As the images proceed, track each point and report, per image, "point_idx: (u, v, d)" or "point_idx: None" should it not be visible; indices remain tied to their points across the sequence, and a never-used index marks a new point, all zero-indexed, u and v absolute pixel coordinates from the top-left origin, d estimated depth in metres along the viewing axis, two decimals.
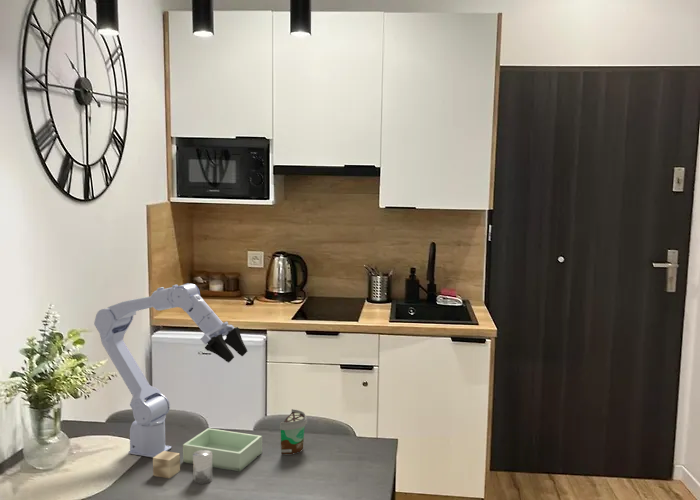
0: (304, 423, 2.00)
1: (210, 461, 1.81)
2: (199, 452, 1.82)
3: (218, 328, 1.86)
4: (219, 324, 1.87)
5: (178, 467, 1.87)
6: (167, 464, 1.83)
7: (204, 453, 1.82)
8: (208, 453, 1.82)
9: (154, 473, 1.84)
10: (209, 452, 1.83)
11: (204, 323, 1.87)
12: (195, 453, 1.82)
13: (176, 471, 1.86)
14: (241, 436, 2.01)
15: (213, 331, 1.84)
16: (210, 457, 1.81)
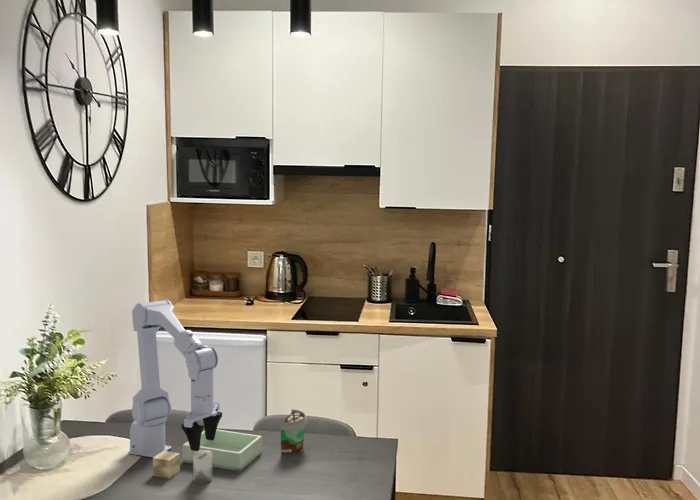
0: (304, 423, 2.00)
1: (210, 461, 1.81)
2: (199, 452, 1.82)
3: (205, 416, 1.77)
4: (209, 411, 1.79)
5: (178, 467, 1.87)
6: (167, 464, 1.83)
7: (204, 453, 1.82)
8: (208, 453, 1.82)
9: (154, 473, 1.84)
10: (209, 452, 1.83)
11: (197, 402, 1.77)
12: (195, 453, 1.82)
13: (176, 471, 1.86)
14: (241, 436, 2.01)
15: (199, 418, 1.76)
16: (210, 457, 1.81)
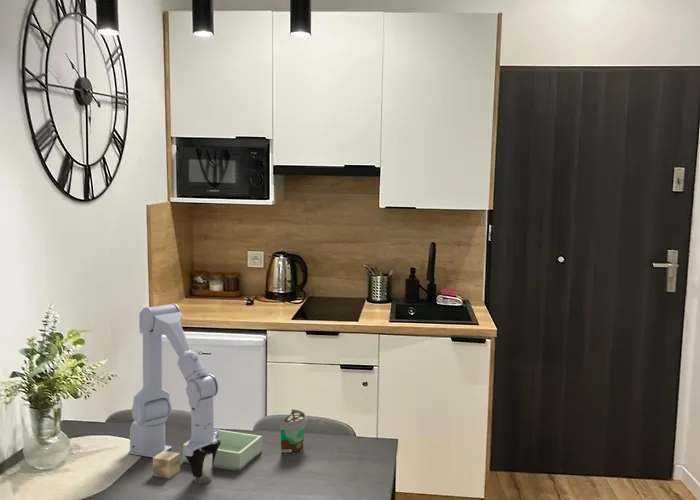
0: (304, 423, 2.00)
1: (210, 461, 1.81)
2: None
3: (205, 444, 1.78)
4: (209, 439, 1.79)
5: (178, 467, 1.87)
6: (167, 464, 1.83)
7: None
8: (208, 453, 1.82)
9: (154, 473, 1.84)
10: (209, 452, 1.83)
11: (198, 430, 1.78)
12: None
13: (176, 471, 1.86)
14: (241, 436, 2.01)
15: (199, 446, 1.77)
16: (210, 457, 1.81)
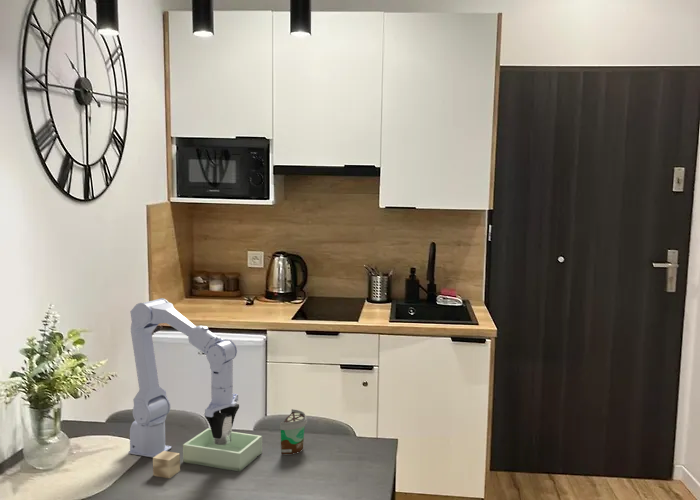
0: (304, 423, 2.00)
1: (229, 423, 1.87)
2: None
3: (225, 406, 1.85)
4: (228, 402, 1.86)
5: (178, 467, 1.87)
6: (167, 464, 1.83)
7: None
8: (227, 416, 1.89)
9: (154, 473, 1.84)
10: (228, 415, 1.89)
11: (218, 392, 1.85)
12: None
13: (176, 471, 1.86)
14: (241, 436, 2.01)
15: (219, 408, 1.83)
16: (229, 419, 1.87)
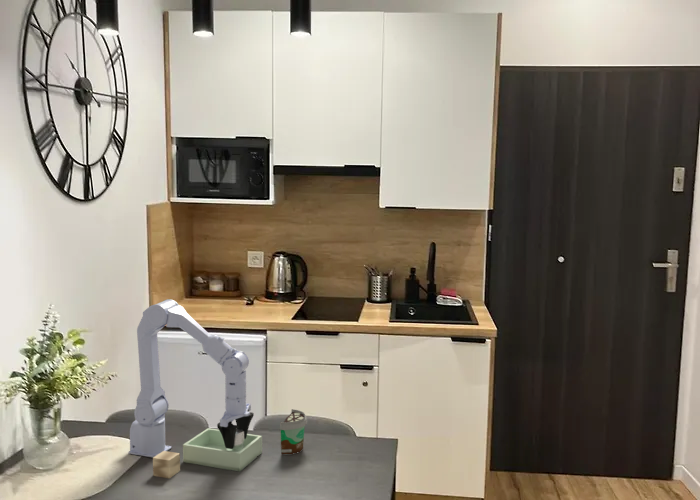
0: (304, 423, 2.00)
1: (242, 438, 1.94)
2: None
3: (239, 416, 1.91)
4: (242, 412, 1.92)
5: (178, 467, 1.87)
6: (167, 464, 1.83)
7: (236, 431, 1.95)
8: (240, 431, 1.95)
9: (154, 473, 1.84)
10: (240, 430, 1.96)
11: (232, 403, 1.91)
12: None
13: (176, 471, 1.86)
14: None
15: (234, 418, 1.89)
16: (242, 434, 1.94)
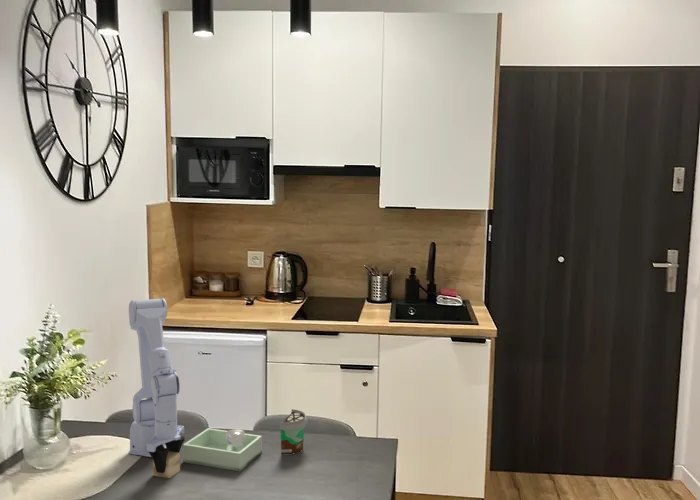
0: (304, 423, 2.00)
1: (243, 439, 1.94)
2: (231, 431, 1.95)
3: (168, 440, 1.82)
4: (172, 435, 1.83)
5: (178, 467, 1.87)
6: (167, 463, 1.82)
7: (237, 432, 1.94)
8: (240, 432, 1.95)
9: (154, 472, 1.84)
10: (241, 431, 1.95)
11: (161, 426, 1.82)
12: (228, 432, 1.94)
13: (176, 471, 1.86)
14: None
15: (162, 442, 1.80)
16: (243, 435, 1.94)
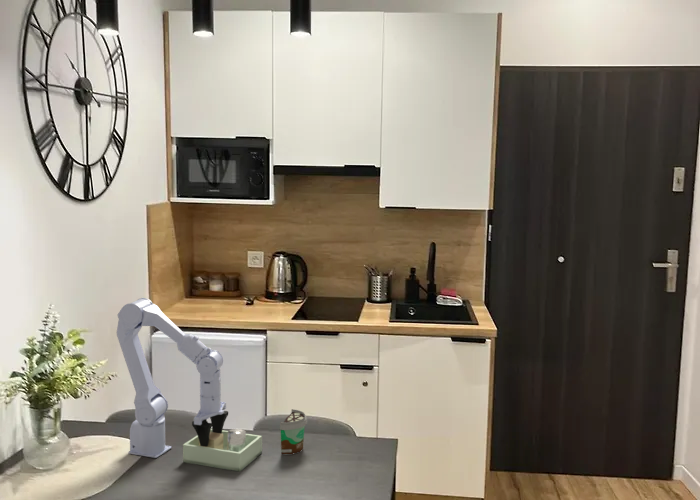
0: (304, 423, 2.00)
1: (245, 438, 1.94)
2: (232, 431, 1.95)
3: (213, 414, 1.94)
4: (216, 410, 1.95)
5: (222, 447, 1.98)
6: (212, 443, 1.94)
7: (238, 431, 1.95)
8: (241, 431, 1.95)
9: None
10: (241, 430, 1.96)
11: (206, 401, 1.93)
12: (229, 432, 1.94)
13: None
14: None
15: (208, 416, 1.92)
16: (245, 434, 1.94)
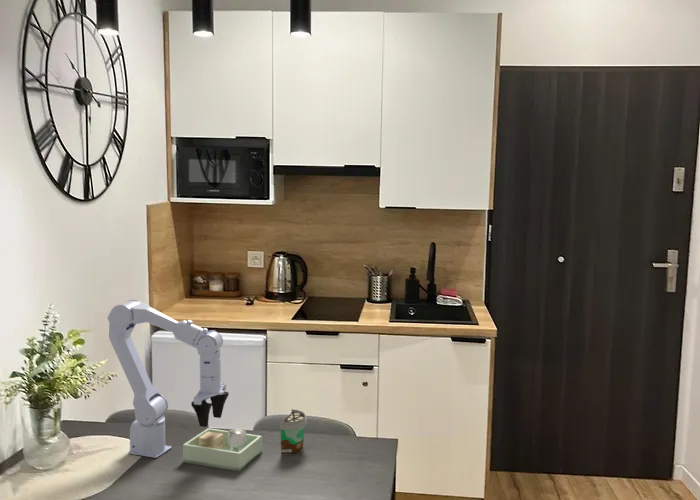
0: (304, 423, 2.00)
1: (245, 438, 1.95)
2: (232, 431, 1.95)
3: (213, 395, 1.93)
4: (216, 390, 1.94)
5: (222, 447, 1.98)
6: (212, 443, 1.94)
7: (238, 431, 1.95)
8: (241, 431, 1.96)
9: None
10: (241, 430, 1.96)
11: (206, 381, 1.93)
12: (230, 432, 1.94)
13: None
14: None
15: (208, 396, 1.91)
16: (245, 434, 1.95)
